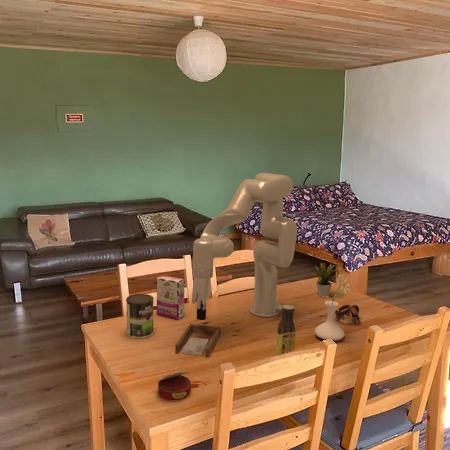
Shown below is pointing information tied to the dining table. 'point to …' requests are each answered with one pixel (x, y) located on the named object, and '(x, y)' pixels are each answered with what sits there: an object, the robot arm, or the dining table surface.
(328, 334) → the flower in vase
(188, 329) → the brown u-shaped frame
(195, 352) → the cover plate
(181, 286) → the candy bar box
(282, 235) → the robot arm
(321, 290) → the house plant
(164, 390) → the canned food
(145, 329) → the coffee can
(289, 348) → the sauce bottle
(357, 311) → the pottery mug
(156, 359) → the dining table surface
